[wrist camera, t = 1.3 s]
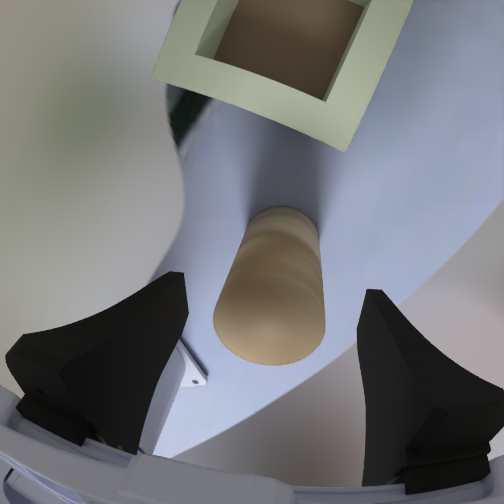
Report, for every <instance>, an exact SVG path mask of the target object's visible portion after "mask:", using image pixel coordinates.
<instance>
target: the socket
mask: <svg viewBox="0 0 504 504" xmlns="http://www.w3.org/2000/svg"><path fill="white" fill-rule="evenodd" d="M413 1H414V0H181V3H180V5H179V7H178V9H177V12H176V14H175V16H174V19H173V21H172V23H171V26H170V28H169V31H168V34H167V36H166V38H165V41H164V44H163V46H162V49H161V51H160V54H159V57H158V60H157V62H156V65H155V68H154V71H153V74H152V77H151V79H153V80H157V81H161V82H164V83H168V84H171V85H174V86H178V87H181V88H184V89H188V90H191V91H194V92H197V93H200V94H203V95H206V96H209V97H212V98H215V99H218V100H221V101H224V102H227V103H229V104H232V105H235V106H238V107H240V108H243V109H246V110H248V111H251V112H253V113H256V114H259V115H261V116H264V117H266V118H269V119H271V120H274V121H276V122H278V123H281V124H283V125H286V126H288V127H290V128H293V129H295V130H297V131H299V132H302V133H304V134H306V135H308V136H311V137H313V138H315V139H317V140H319V141H321V142H324V143H326V144H328V145H330V146H332V147H334V148H336V149H338V150H340V151H342V152H344V153H345V152H346V150H347V148H348V146H349V144H350V142H351V140H352V137H353V135H354V133H355V131H356V129H357V127H358V125H359V123H360V121H361V119H362V116H363V114H364V112H365V110H366V108H367V106H368V104H369V101H370V99H371V97H372V95H373V93H374V91H375V88H376V86H377V84H378V82H379V80H380V77H381V75H382V73H383V71H384V69H385V66H386V64H387V62H388V60H389V57H390V55H391V53H392V51H393V48H394V46H395V44H396V41H397V39H398V37H399V34H400V32H401V30H402V27H403V25H404V23H405V20H406V18H407V16H408V13H409V11H410V9H411V6H412V4H413Z"/></svg>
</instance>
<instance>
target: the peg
mask: <svg viewBox="0 0 504 504" xmlns="http://www.w3.org/2000/svg"><path fill="white" fill-rule="evenodd" d="M213 324H214V329H215V332H216V334H217V336H218V338H219V339H220V341H221V342H222V344H223V345H224V346H225V347H226V348H227V349H228V350H230V351H231V352H232V353H234V354H235V355H237V356H238V357H240V358H242V359H244V360H247V361H249V362H253V363H256V364H261V365H270V366H277V365H286V364H291V363H294V362H297V361H300V360H302V359H304V358H305V357H307V356H308V355H310V354H311V353H312V352H313V351H315V350H316V348H317V347H318V346H319V345H320V343H321V341H322V339H323V337H324V333H325V309H324V294H323V281H322V268H321V257H320V246H319V237H318V232H317V229H316V227H315V225H314V224H313V222H312V221H311V220H310V219H309V218H308V217H307V216H306V215H305V214H303V213H302V212H300V211H298V210H295V209H293V208H289V207H273V208H269V209H266V210H264V211H262V212H260V213H259V214H258V215H256V216H255V217H254V218H253V219H252V220H251V222H250V223H249V225H248V227H247V230H246V232H245V234H244V237H243V239H242V242H241V244H240V247H239V249H238V252H237V254H236V257H235V259H234V262H233V264H232V267H231V269H230V272H229V274H228V277H227V279H226V282H225V284H224V287H223V289H222V292H221V294H220V297H219V299H218V302H217V304H216V307H215V310H214V314H213Z"/></svg>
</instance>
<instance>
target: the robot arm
mask: <svg viewBox="0 0 504 504" xmlns="http://www.w3.org/2000/svg"><path fill="white" fill-rule="evenodd" d="M188 314H189V310H188V303H187V295H186V287H185V279H184V273H181V272H172V271H170V272H168V273H166V274H164V275H162V276H161V277H159V278H158V279H156V280H155V281H153V282H151V283H150V284H148V285H147V286H145V287H144V288H142V289H141V290H139V291H137V292H136V293H134V294H133V295H131V296H129V297H127V298H126V299H124V300H122V301H121V302H119V303H117V304H115V305H114V306H112V307H110V308H108V309H106V310H104V311H102V312H99V313H97V314H95V315H93V316H90V317H88V318H85V319H83V320H80V321H77V322H74V323H72V324H68V325H65V326H62V327H58V328H54V329H50V330H46V331H40V332H35V333H29V334H23V335H22V336H21V337H20V338H19V339H18V341H17V342H16V343H15V344H14V345H13V347H12V348H11V349H10V350H9V351H8V352H7V354H6V355H5V356H6V357H5V358H6V364H7V366H8V368H9V370H10V372H11V374H12V375H13V376H14V378H15V380H16V381H17V383H18V384H19V386H20V387H21V389H22V390H23V392H24V393H25V395H24V396H23V398H22V399H20V398H19V397H18V396H17V395H16V394H14V393H13V392H11V391H9V390H7V389H6V388H4V387H2V386H1V385H0V504H504V455H502V456H499V457H496V458H494V459H492V460H490V461H488V457H487V454H488V453H489V452H490V451H491V448H490V444H489V441H491V440H492V439H493V437H494V436H495V435H496V434H497V433H498V432H499V431H500V430H501V429H502V428H503V427H504V390H503V389H502V388H500V387H498V386H496V385H494V384H491V383H489V382H487V381H485V380H483V379H481V378H479V377H478V376H476V375H474V374H472V373H470V372H469V371H467V370H466V369H464V368H463V367H461V366H459V365H458V364H457V363H455V362H454V361H453V360H451V359H450V358H448V357H447V356H446V355H444V354H443V353H442V352H441V351H440V350H438V349H437V348H436V347H435V346H434V345H432V344H431V343H430V342H429V341H428V340H427V339H426V338H425V337H424V336H423V335H422V334H421V333H420V332H419V331H418V330H417V329H416V328H415V327H414V326H413V325H412V324H411V323H410V322H409V321H408V320H407V318H406V317H405V316H404V315H403V314H402V313H401V312H400V310H399V309H398V308H397V307H396V306H395V305H394V303H393V302H392V301H391V300H390V299H389V297H388V296H387V295H386V294H385V293H384V292H383V291H382V290H377V289H367V290H366V295H365V299H364V303H363V307H362V311H361V315H360V319H359V322H358V326H357V349H358V356H359V363H360V369H361V375H362V381H363V388H364V394H365V404H366V440H365V441H366V442H365V458H364V471H363V479H362V487H305V486H304V487H303V486H289V485H288V484H285V483H283V482H281V481H278V480H276V479H272V478H267V477H262V476H257V475H250V474H243V473H236V472H230V471H224V470H218V469H214V468H208V467H203V466H199V465H194V464H189V463H185V462H181V461H177V460H173V459H169V458H166V457H162V456H156V455H152V454H153V451H154V449H155V446H156V444H157V441H158V439H159V436H160V434H161V431H162V429H163V426H164V424H165V422H166V419H167V417H168V414H169V412H170V409H171V407H172V404H173V402H174V399H175V397H176V394H177V392H178V390H179V387H188V386H198V385H205V384H206V383H207V381H208V378H207V377H206V375H205V374H204V373H203V371H202V370H201V369H200V367H199V366H198V364H197V363H196V362H195V360H194V359H193V358H192V356H191V355H190V353H189V352H188V351H187V349H186V348H185V346H184V345H183V343H182V342H181V341H180V339H179V338H180V336H181V334H182V332H183V329H184V326H185V323H186V320H187V317H188Z"/></svg>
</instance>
